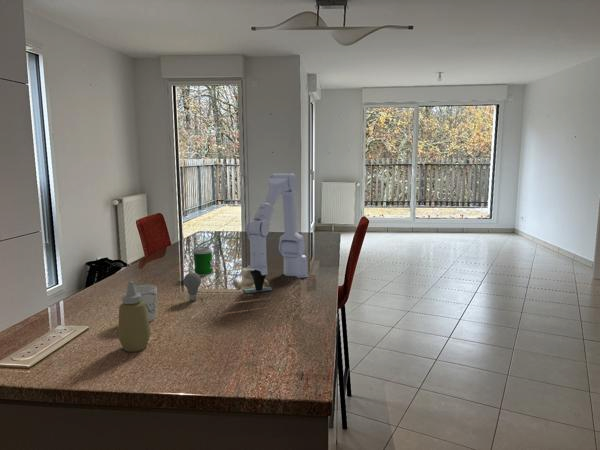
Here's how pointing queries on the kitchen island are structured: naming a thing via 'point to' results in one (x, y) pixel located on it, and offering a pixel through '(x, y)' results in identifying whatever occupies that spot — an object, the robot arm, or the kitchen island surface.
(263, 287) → the panel
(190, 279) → the light bulb
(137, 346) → the squeeze bottle
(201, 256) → the soda can
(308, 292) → the kitchen island surface
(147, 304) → the mug
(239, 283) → the bed
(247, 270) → the beige rectangular block
